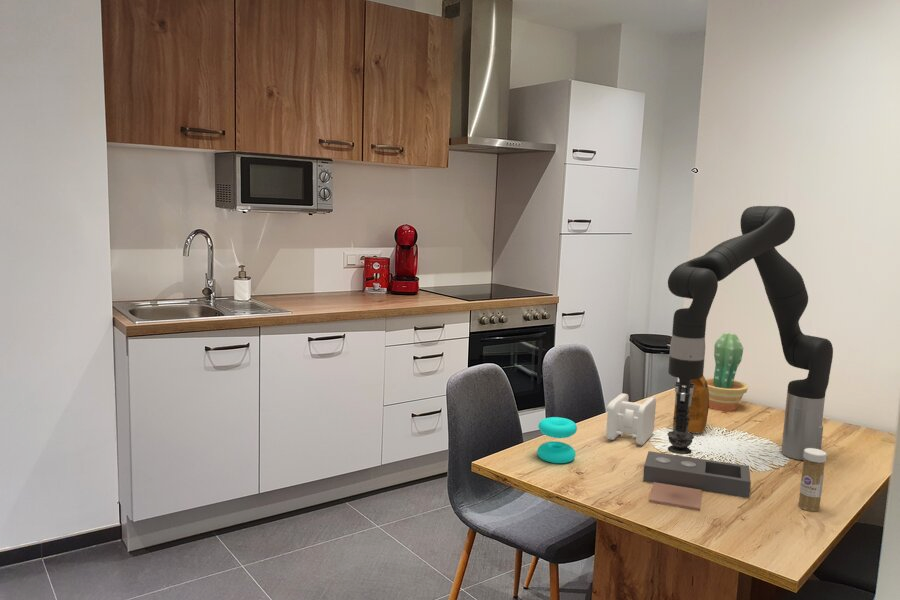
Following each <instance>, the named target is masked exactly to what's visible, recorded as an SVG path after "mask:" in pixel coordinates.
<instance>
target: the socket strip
mask: <svg viewBox="0 0 900 600" xmlns="http://www.w3.org/2000/svg"><path fill="white" fill-rule="evenodd" d="M750 473H751V471H750V466H749V465H744V464H739V463H730V462H725V461H719V460H718V461H717V460H710V459H704V458H697V457H691V456H684V455H679V454H670V453H664V452H658V451H657V452H656V451H650V450H649V451H648V452H647V455H646V458H645V461H644V464H643V477H642V482H645V481H647V482H646V483H651V482H652V484H653V482H656V483H663V484H669V485H675V486H681V487H687V488H693V489H700V490H701V492H708V493H714V494H720V495H721V494H722V495H725V496H733V497H739V498H745V499H750V492H751V481H752V480H751V474H750Z"/></svg>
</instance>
